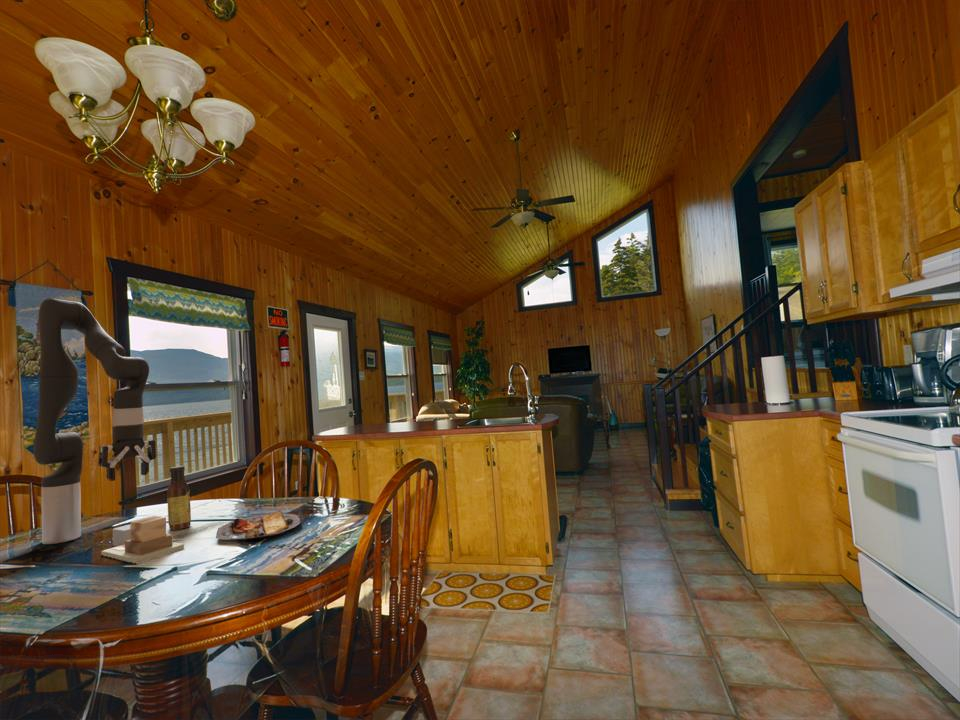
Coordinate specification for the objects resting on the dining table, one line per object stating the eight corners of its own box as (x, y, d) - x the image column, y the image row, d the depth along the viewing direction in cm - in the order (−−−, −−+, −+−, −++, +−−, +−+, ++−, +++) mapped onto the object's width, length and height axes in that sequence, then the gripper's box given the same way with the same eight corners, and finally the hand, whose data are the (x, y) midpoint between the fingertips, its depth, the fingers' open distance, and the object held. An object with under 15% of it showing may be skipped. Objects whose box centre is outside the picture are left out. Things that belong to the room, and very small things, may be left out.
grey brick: (112, 546, 140) (112, 528, 140) (135, 539, 145) (134, 522, 145) (124, 548, 137) (124, 530, 137) (146, 541, 142) (146, 524, 143)
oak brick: (130, 540, 130) (130, 521, 130) (153, 533, 135) (153, 515, 135) (142, 542, 127) (142, 523, 127) (166, 535, 133) (165, 517, 133)
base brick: (124, 551, 129) (124, 540, 130) (156, 542, 136) (156, 531, 137) (141, 555, 126) (140, 544, 126) (172, 545, 133) (172, 534, 133)
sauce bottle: (194, 526, 156) (193, 465, 157) (174, 531, 150) (172, 468, 151) (184, 524, 159) (183, 464, 160) (164, 529, 154) (162, 467, 155)
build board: (101, 555, 131) (101, 550, 131) (148, 541, 142) (148, 536, 142) (136, 563, 123) (136, 558, 123) (184, 548, 134) (183, 543, 134)
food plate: (220, 526, 154) (219, 515, 154) (296, 515, 163) (296, 505, 164) (213, 552, 131) (213, 539, 131) (303, 537, 141) (302, 525, 141)
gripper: (147, 420, 150) (147, 472, 150) (93, 425, 138) (93, 481, 137) (160, 421, 147) (160, 474, 146) (107, 426, 134) (106, 483, 133)
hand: (128, 477), depth 142 cm, fingers open, 8 cm apart
